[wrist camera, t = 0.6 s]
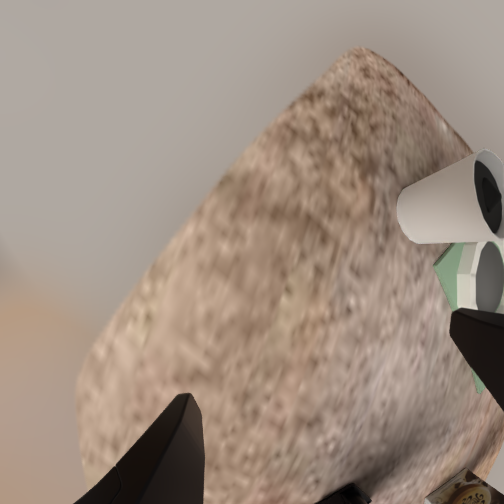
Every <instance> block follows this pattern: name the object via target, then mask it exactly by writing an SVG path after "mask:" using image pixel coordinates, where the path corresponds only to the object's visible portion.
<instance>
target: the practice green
mask: <svg viewBox="0 0 504 504" xmlns="http://www.w3.org/2000/svg"><path fill="white" fill-rule="evenodd" d="M433 267H434V269H435V271H436V273H437V276H438V278H439V280H440V282H441V285H442V287H443V289H444V292H445V294H446V296H447V299H448V301H449V304H450V306H451V309H452V311H455V310H457V309H459V308H461V307H463V308H469V309H475V310H482V311H488V312H494V313H501V314H504V241H488V242H459V243H452V244H451V245H450V247H449V248H448V249H447V250H446V251H445V253H444V254H443V255H442V256H441V257H440V258H439V260H438V261H437V262H436V263H435V264H434V265H433ZM471 369H472V368H471ZM472 373H473V377H474V381H475V385H476V389H477V393H479V394H481V393H482V391H483V390H484V389H485V387H486V386H485V385H484V384H483V382H482V381H481V380H480V379H479V377H478V376H477V375H476V373H475V372H474V371H473V370H472Z"/></svg>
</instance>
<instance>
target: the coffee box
mask: <svg viewBox="0 0 504 504" xmlns="http://www.w3.org/2000/svg"><path fill="white" fill-rule="evenodd" d="M424 504H504V495H503V494H502V493H500V492H499V491H497V490H496V489H495V488H493V487H491V486H490V485H489V484H487V483H486V482H485V481H483V480H482V479H480V478H479V477H478V476H476V475H475V474H473V473H472V472H471V471H469V470H468V469H467V468H465V469H464V470H462V471H461V472H460V473H459V474H457V475H456V476H455V477H454V478H452V479H451V480H450V481H448V482H447V483H446V484H444V485H443V486H442V487H440V488H439V489H437V490H436V491H435V492H433V493H432V494H430V495H429V496H427V497H426V498H425V502H424Z"/></svg>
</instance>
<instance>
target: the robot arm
mask: <svg viewBox="0 0 504 504" xmlns="http://www.w3.org/2000/svg"><path fill="white" fill-rule="evenodd" d="M449 333H450V336H451V338H452V340H453V341H454V343H455V344H456V346H457V347H458V349H459V350H460V352H461V353H462V355H463V356H464V358H465V359H466V361H467V362H468V364H469V365H470V367H471V368H472V370H473V371H474V372H475V373H476V375H477V376H478V377H479V379H480V380H481V381H482V382H483V384H484V385H485V386H486V388H487V389H488V390H489V392H490V393H491V394H492V396H493V397H494V399H495V400H496V401H497V403H498V404H499V406H500V407H501V408H502V410H503V411H504V314H501V313H494V312H488V311H482V310H475V309H469V308H463V307H461V308H459V309H457V310H455V311H453V312H452V314H451V322H450V330H449ZM115 466H116V467H115ZM115 466H114V467H113V468H112V469H111V470H110V471H109V472H108V473H107V474H106V475H105V476H104V477H103V478H102V479H101V480H100V481H99V482H98V483H97V484H96V485H95V486H94V487H93V488H92V489H90V490H89V491H88V492H87V493H86V494H85V495H83V496H82V497H81V498H80V499H79V500H77V501H76V502H75V503H74V504H203V496H204V468H205V451H204V439H203V426H202V415H201V411H200V409H199V407H198V405H197V403H196V401H195V399H194V397H193V395H192V394H191V393H183V394H178V395H177V396H176V397H175V398H174V399H173V400H172V402H171V403H170V404H169V405H168V406H167V407H166V408H165V410H164V411H163V412H162V413H161V414H160V415H159V417H158V418H157V419H156V420H155V421H154V422H153V423H152V425H151V426H150V427H149V428H148V429H147V430H146V431H145V433H144V434H143V435H142V436H141V437H140V438H139V439H138V440H137V442H136V443H135V444H134V445H133V446H132V447H131V448H130V449H129V450H128V451H127V453H126V454H125V455H124V456H123V457H122V458H121V459H120V460H119V461H118V462H117V464H116V465H115ZM371 502H372V500H371V499H370V498H369V497H368V496H367V495H366V494H365V493H364V492H363V491H362V490H360V489H359V488H358V487H357V486H356V485H355V484H349V485H348V486H346V487H345V488H343V489H342V490H340V491H338V492H337V493H335V494H333V495H332V496H330V497H328V498H327V499H325V500H323V501H322V502H320V503H318V504H369V503H371Z"/></svg>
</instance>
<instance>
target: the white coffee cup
mask: <svg viewBox="0 0 504 504" xmlns="http://www.w3.org/2000/svg"><path fill="white" fill-rule="evenodd" d="M396 209H397V217H398V222H399V224H400V226H401V229H402V231H403V233H404V234H405V235H406V236H407V237H408V238H409V240H411V241H413V242H415V243H417V244H431V243H459V242H488V241H504V164H503V162H502V160H501V159H500V158H499V157H498V156H497V155H496V154H495V153H494V152H493V151H491V150H488V149H485V148H483V149H481V150H479V151H477V152H475V153H473V154H471V155H469V156H467V157H465V158H463V159H461V160H459V161H457V162H455V163H453V164H451V165H449V166H447V167H445V168H443V169H441V170H440V171H438V172H436V173H434V174H432V175H430V176H428V177H426V178H424V179H422V180H420V181H418V182H416V183H414V184H412V185H409V186H408V187H406V188H404V189H403V190H402V192H401V193H400V195H399V197H398V201H397V207H396Z"/></svg>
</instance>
